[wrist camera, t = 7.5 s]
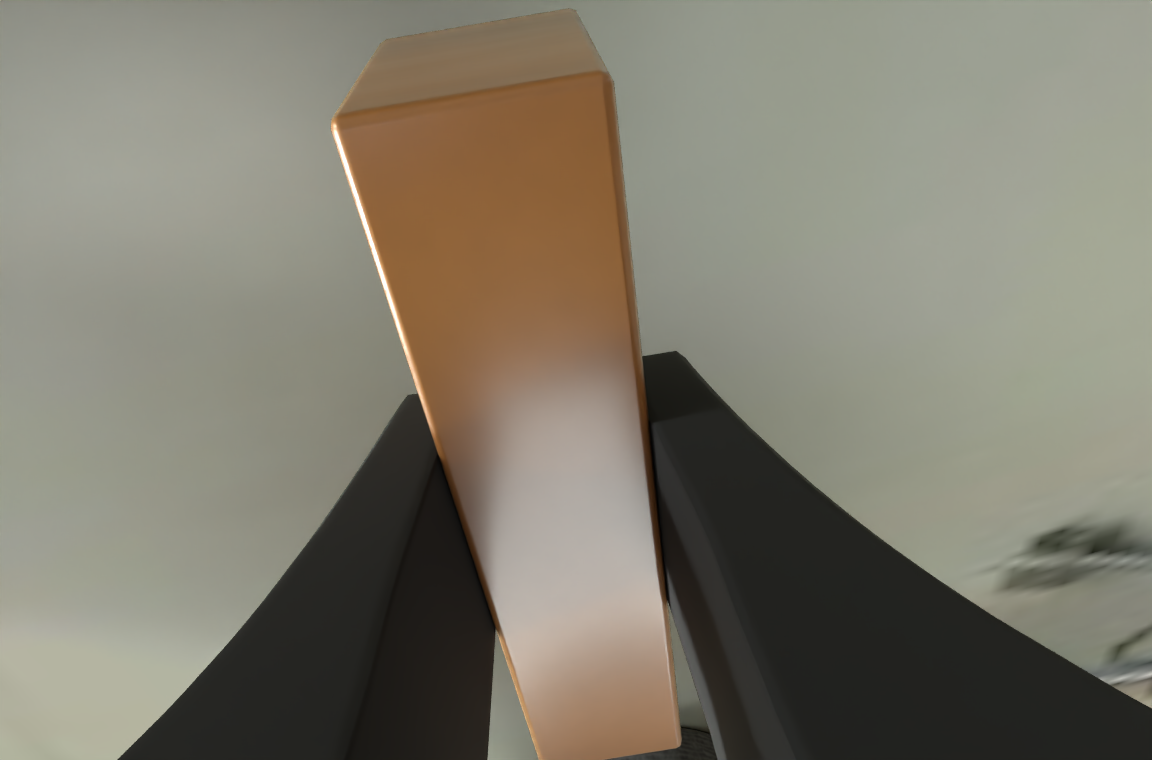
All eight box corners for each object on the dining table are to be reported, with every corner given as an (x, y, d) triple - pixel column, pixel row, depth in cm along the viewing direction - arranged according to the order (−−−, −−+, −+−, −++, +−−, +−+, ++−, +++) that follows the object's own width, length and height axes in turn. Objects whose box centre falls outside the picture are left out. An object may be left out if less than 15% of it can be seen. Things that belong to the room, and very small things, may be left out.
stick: (649, 587, 12) (684, 750, 10) (533, 606, 12) (542, 773, 10) (578, 5, 7) (614, 71, 5) (377, 39, 7) (324, 120, 5)
